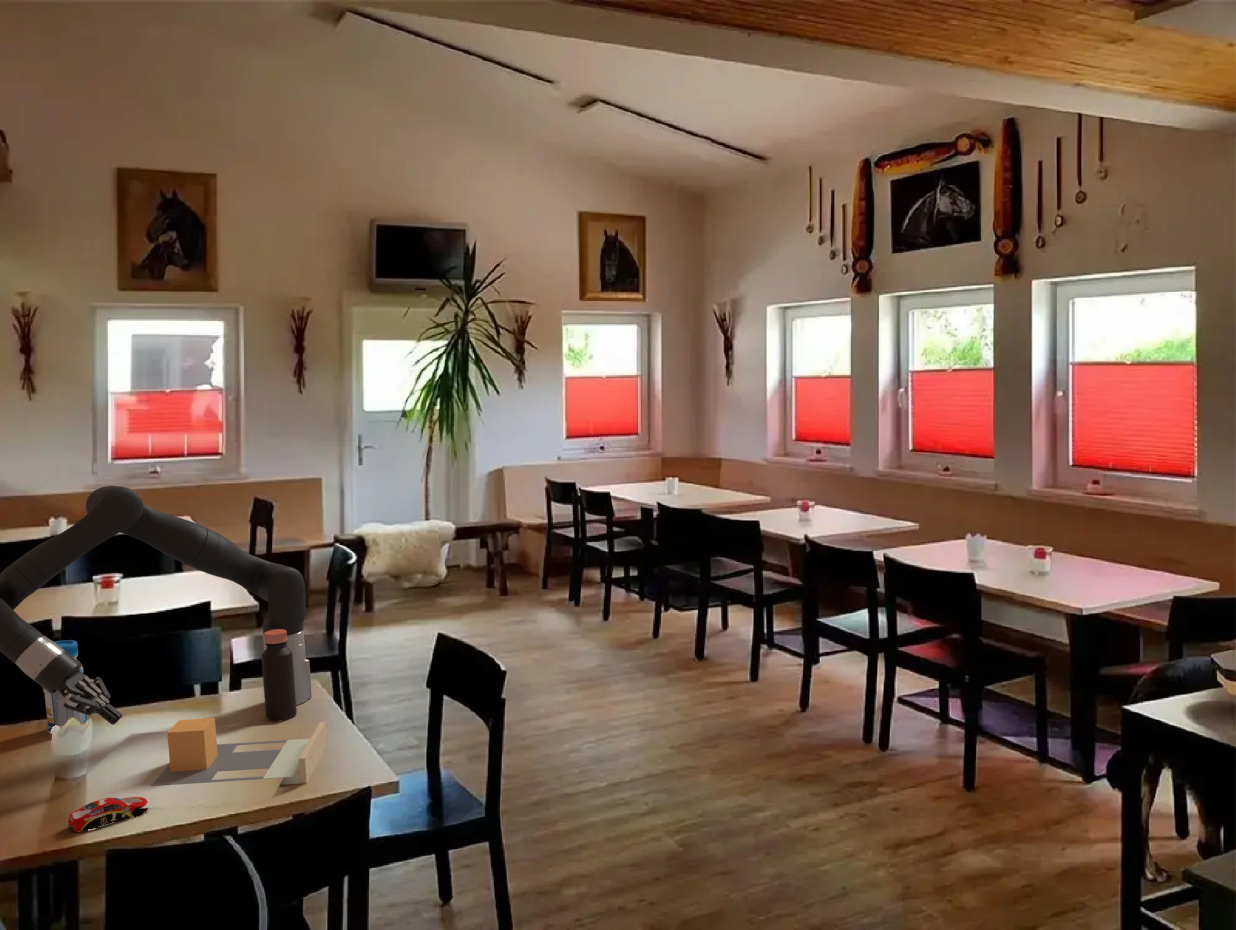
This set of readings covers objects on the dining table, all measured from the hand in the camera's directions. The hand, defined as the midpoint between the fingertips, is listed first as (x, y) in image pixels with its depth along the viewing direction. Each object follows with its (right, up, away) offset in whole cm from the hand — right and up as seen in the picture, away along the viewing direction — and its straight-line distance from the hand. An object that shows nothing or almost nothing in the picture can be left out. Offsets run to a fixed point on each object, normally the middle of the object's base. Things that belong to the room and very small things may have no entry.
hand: (118, 720), depth 204 cm
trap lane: (+23, -10, +3) cm, 26 cm away
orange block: (+14, -9, +2) cm, 17 cm away
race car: (+8, -14, -19) cm, 25 cm away
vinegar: (+22, -7, +32) cm, 40 cm away
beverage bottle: (-25, -9, +29) cm, 39 cm away
